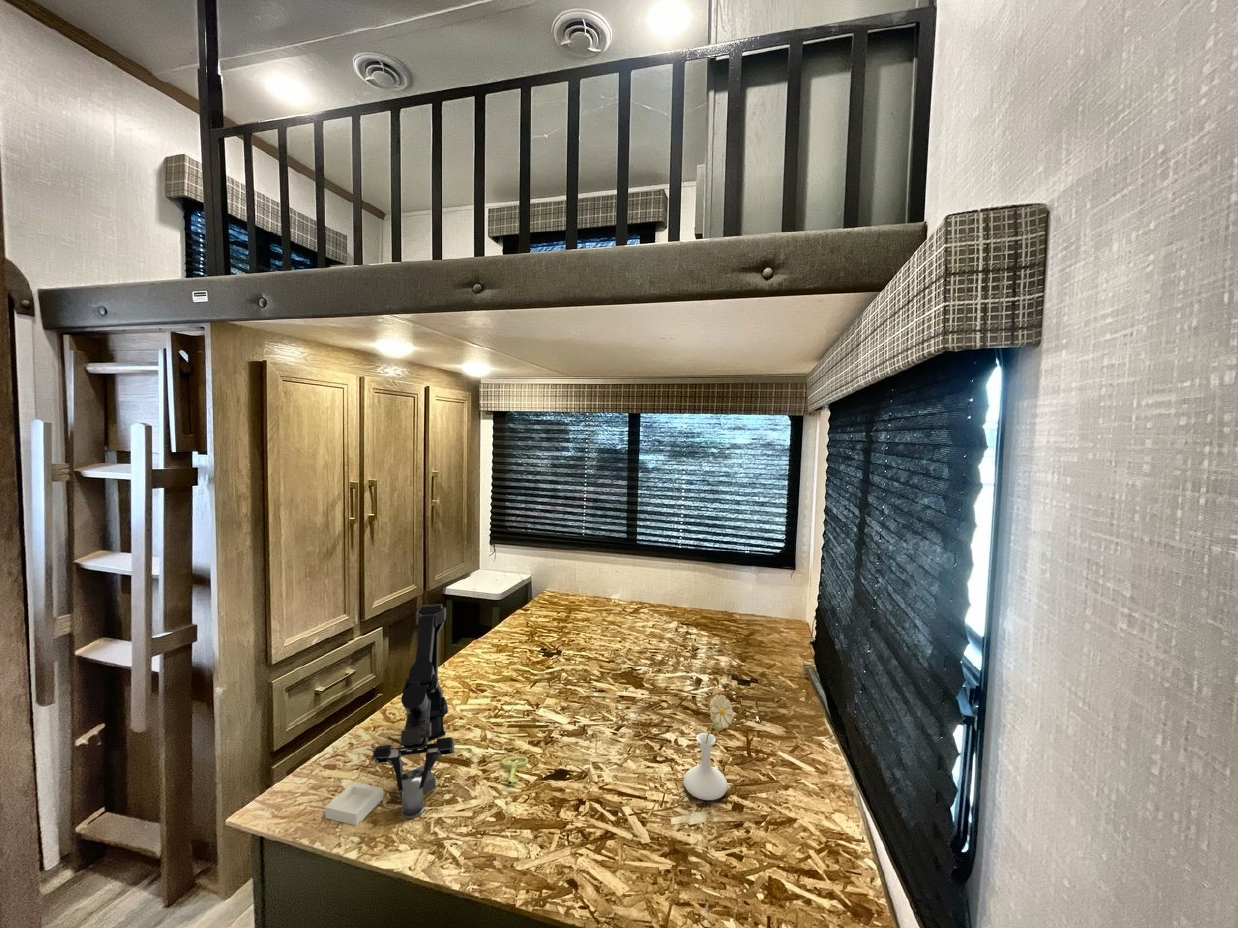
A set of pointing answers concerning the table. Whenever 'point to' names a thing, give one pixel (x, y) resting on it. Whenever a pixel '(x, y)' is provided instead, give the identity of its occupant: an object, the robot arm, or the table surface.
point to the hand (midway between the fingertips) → (411, 789)
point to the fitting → (412, 794)
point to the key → (514, 767)
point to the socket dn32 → (428, 781)
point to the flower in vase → (704, 777)
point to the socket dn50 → (354, 803)
